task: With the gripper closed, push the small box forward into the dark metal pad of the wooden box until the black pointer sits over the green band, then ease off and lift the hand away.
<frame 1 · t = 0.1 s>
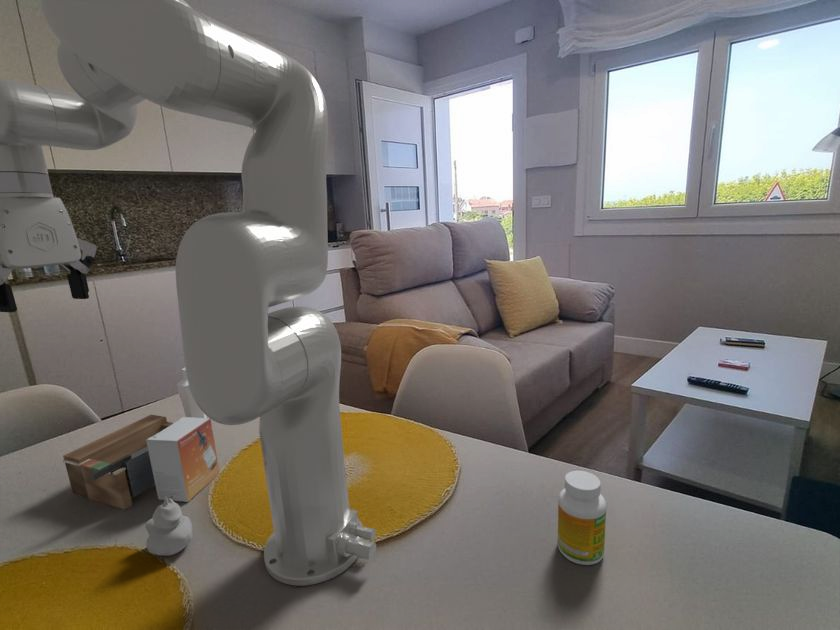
hand: (47, 304, 66), 31 cm above the table, tool pointing down, fingers open, 9 cm apart
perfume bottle: (201, 439, 87), on the table
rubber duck: (171, 549, 58), on the table
small box: (191, 487, 71), on the table
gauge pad: (146, 464, 70), point 4 cm above the table, slide at 0.0 cm
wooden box: (148, 475, 75), on the table
supplement bottle: (580, 550, 53), on the table
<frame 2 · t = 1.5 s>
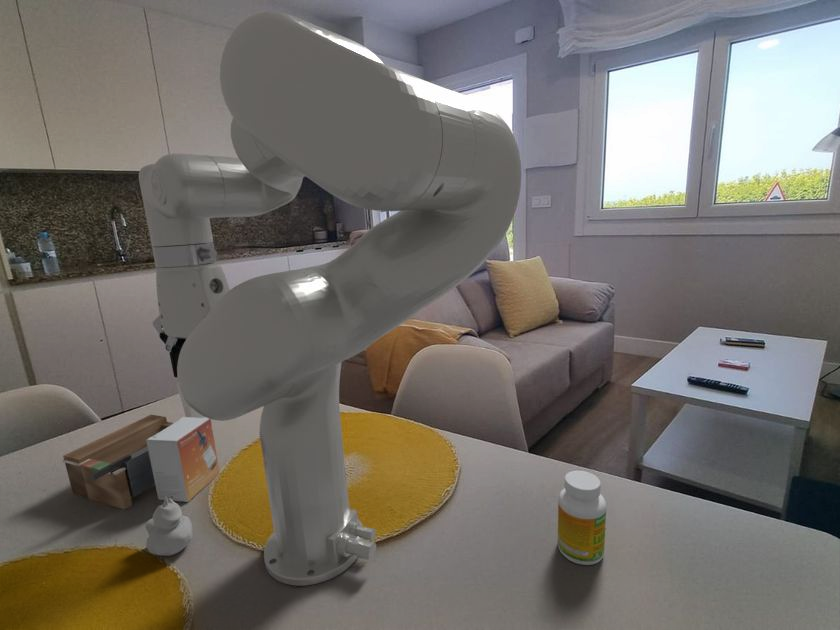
hand: (206, 376, 64), 20 cm above the table, tool pointing down, fingers open, 8 cm apart
nothing on the table moved.
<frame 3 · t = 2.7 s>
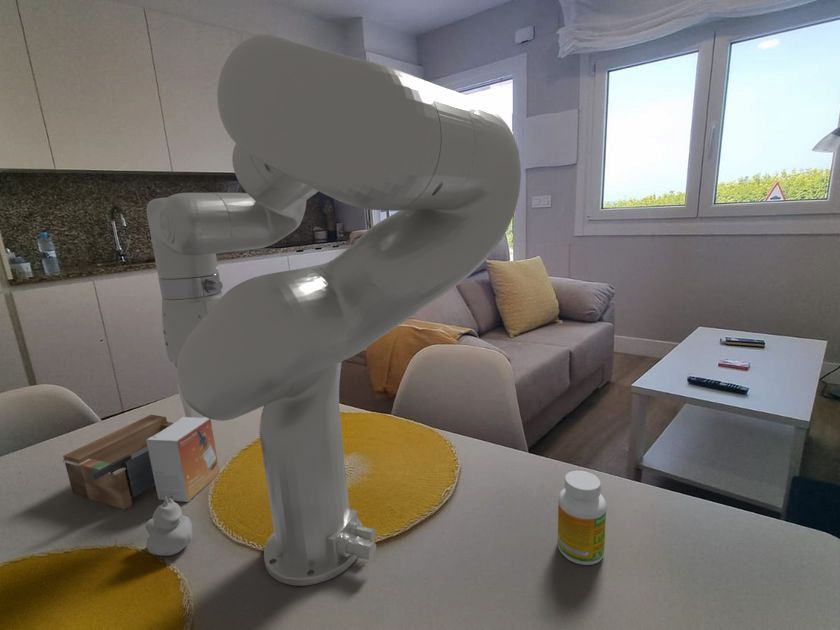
hand: (211, 407, 65), 15 cm above the table, tool pointing down, fingers closed
nothing on the table moved.
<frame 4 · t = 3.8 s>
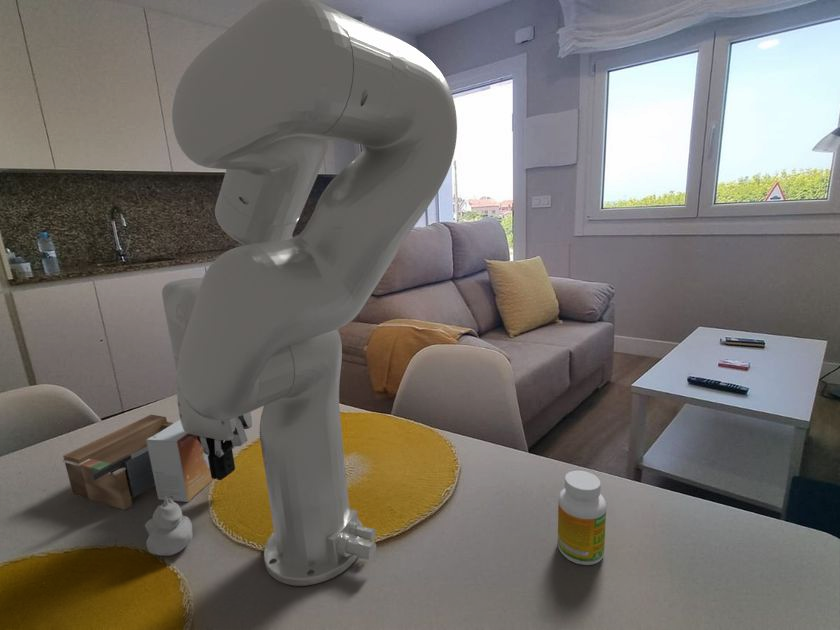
hand: (223, 474, 67), 4 cm above the table, tool pointing down, fingers closed
nothing on the table moved.
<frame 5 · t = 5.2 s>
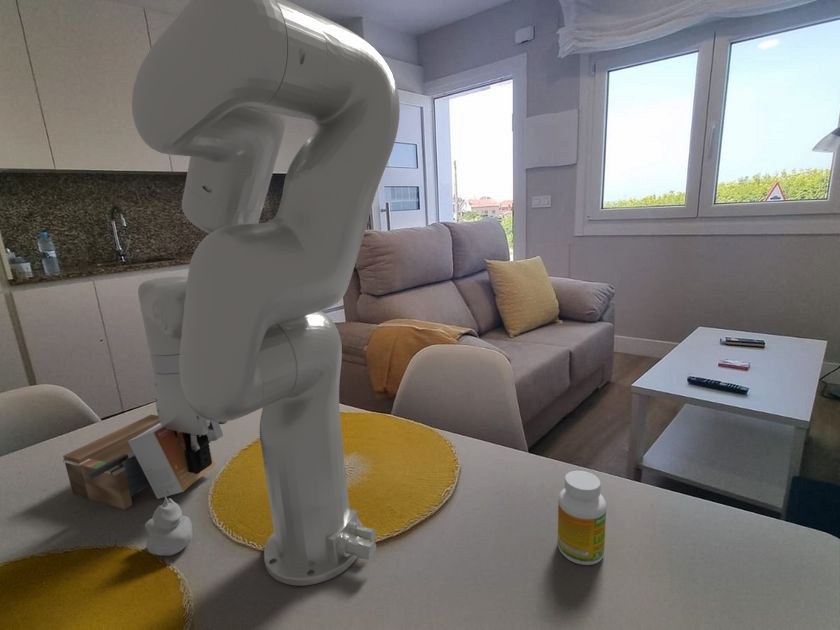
hand: (200, 468, 69), 4 cm above the table, tool pointing down, fingers closed
small box: (189, 482, 71), point 1 cm above the table, touching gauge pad, gripper
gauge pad: (143, 463, 71), point 4 cm above the table, slide at 0.8 cm, touching small box
everything else where it was.
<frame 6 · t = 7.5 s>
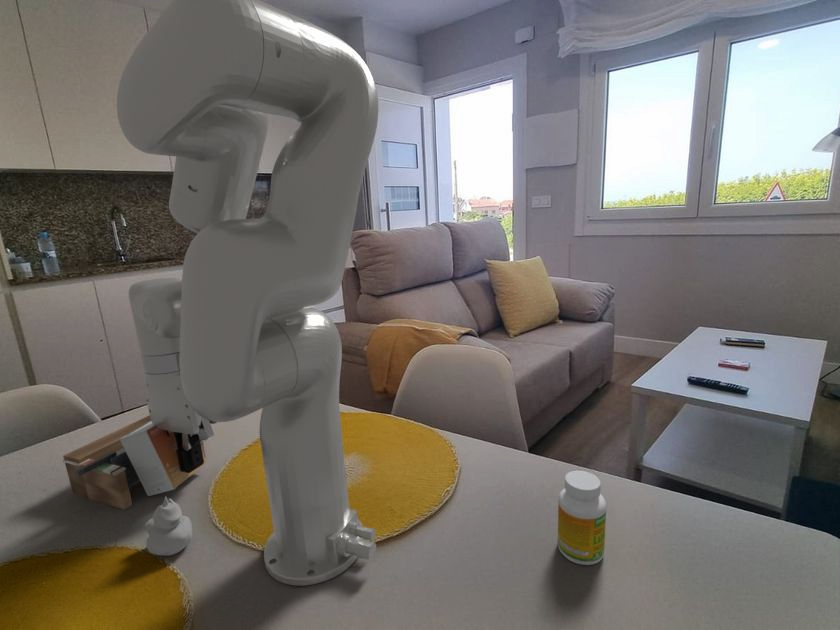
hand: (192, 467, 70), 4 cm above the table, tool pointing down, fingers closed
small box: (179, 480, 72), point 1 cm above the table, touching gripper
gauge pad: (132, 460, 72), point 4 cm above the table, slide at 3.4 cm
everything else where it was.
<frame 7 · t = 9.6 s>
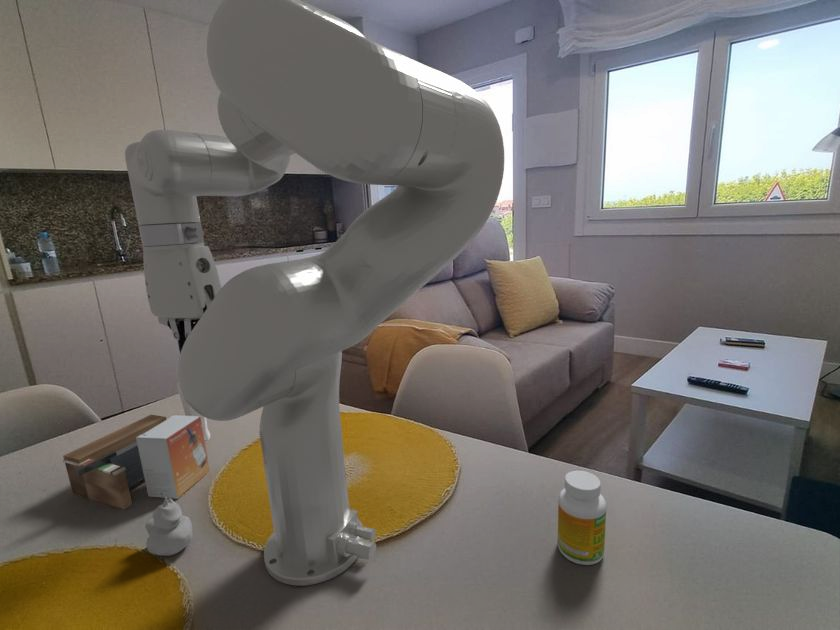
hand: (195, 363, 64), 22 cm above the table, tool pointing down, fingers closed
small box: (181, 484, 72), on the table
everything else where it was.
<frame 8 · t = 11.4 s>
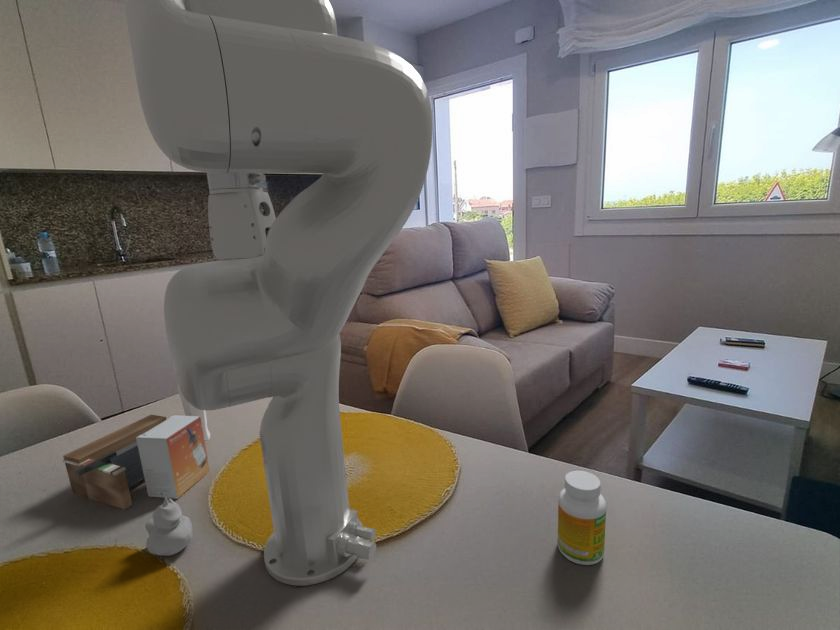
hand: (252, 303, 69), 29 cm above the table, tool pointing down, fingers closed
nothing on the table moved.
at the end: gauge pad slide at 3.4 cm; small box inside the target area (2.7 cm from its centre), on the table; small box tilted 0° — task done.
